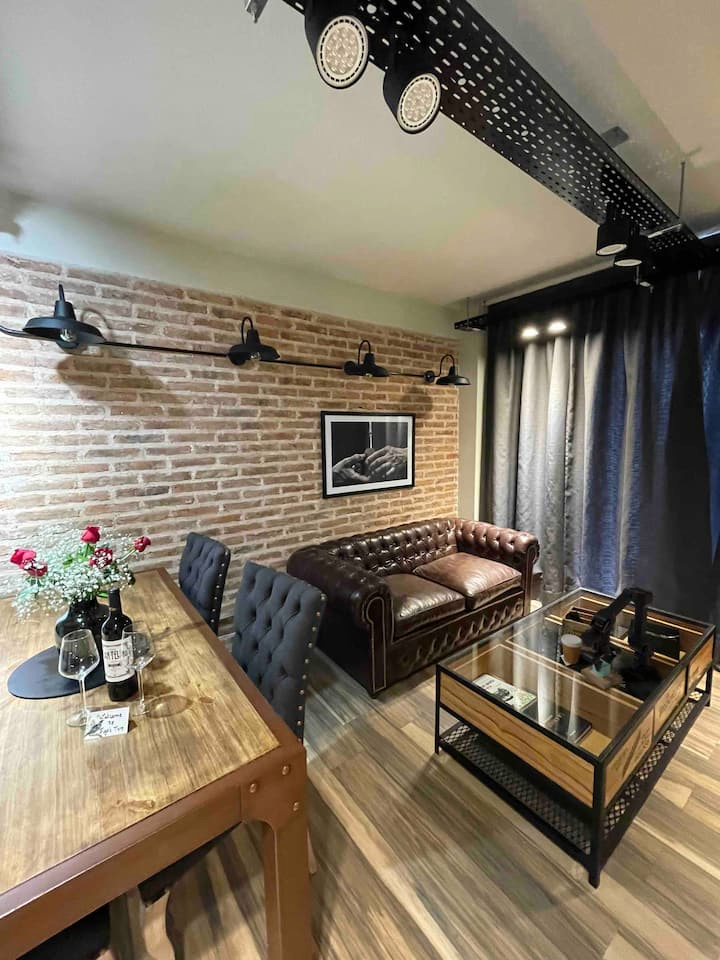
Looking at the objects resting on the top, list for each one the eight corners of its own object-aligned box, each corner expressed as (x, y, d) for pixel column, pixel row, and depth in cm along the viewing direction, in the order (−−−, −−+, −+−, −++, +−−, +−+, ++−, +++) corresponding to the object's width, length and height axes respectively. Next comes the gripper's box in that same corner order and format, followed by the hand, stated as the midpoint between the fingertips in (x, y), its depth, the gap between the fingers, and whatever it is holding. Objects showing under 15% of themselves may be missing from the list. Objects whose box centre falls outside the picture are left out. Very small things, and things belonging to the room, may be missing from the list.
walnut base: (598, 667, 197) (599, 662, 197) (622, 682, 186) (622, 677, 185) (580, 674, 193) (581, 669, 192) (604, 689, 182) (604, 684, 181)
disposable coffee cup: (584, 666, 198) (585, 644, 196) (563, 665, 200) (563, 643, 198) (578, 655, 207) (578, 634, 205) (558, 654, 209) (558, 633, 207)
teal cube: (600, 668, 192) (600, 658, 191) (610, 674, 188) (610, 664, 187) (592, 671, 190) (593, 661, 190) (602, 677, 186) (602, 667, 185)
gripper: (601, 626, 197) (600, 655, 199) (573, 635, 190) (572, 665, 193) (623, 637, 187) (621, 667, 189) (594, 647, 180) (593, 679, 182)
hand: (601, 669), depth 189 cm, fingers open, 5 cm apart
